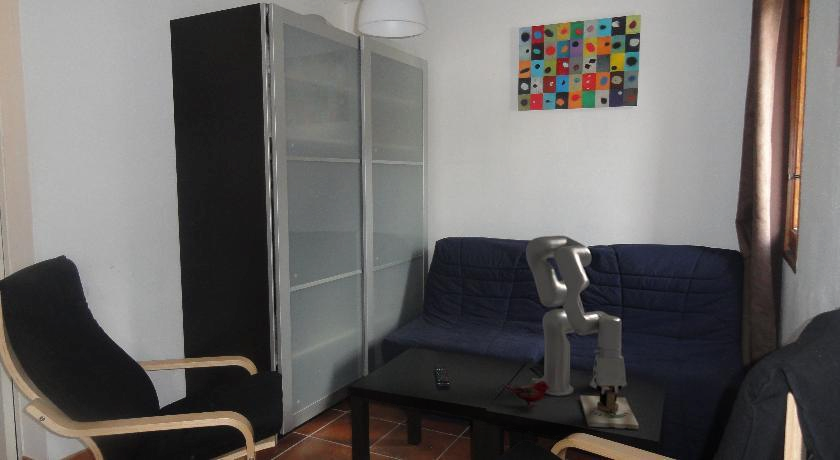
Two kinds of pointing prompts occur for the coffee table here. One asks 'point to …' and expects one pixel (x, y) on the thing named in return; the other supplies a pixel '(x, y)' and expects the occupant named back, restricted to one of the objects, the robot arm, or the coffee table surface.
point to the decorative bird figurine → (531, 392)
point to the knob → (608, 402)
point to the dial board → (608, 414)
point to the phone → (538, 370)
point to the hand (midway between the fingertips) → (608, 403)
